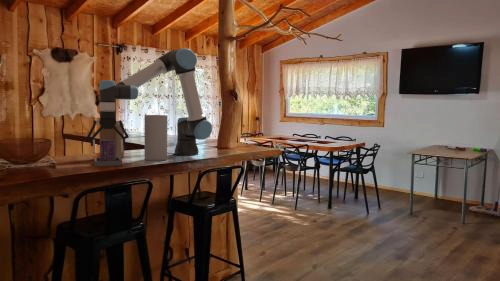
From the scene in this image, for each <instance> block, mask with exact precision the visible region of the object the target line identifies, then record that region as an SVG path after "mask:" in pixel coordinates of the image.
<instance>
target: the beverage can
mask: <svg viewBox="0 0 500 281" xmlns="http://www.w3.org/2000/svg"><path fill="white" fill-rule="evenodd" d="M101 161H115V142H114V140H112V139H104V140H101Z"/></svg>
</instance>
